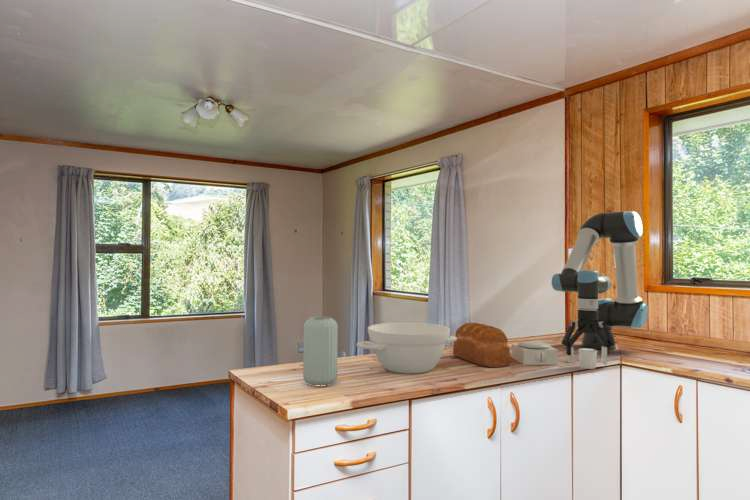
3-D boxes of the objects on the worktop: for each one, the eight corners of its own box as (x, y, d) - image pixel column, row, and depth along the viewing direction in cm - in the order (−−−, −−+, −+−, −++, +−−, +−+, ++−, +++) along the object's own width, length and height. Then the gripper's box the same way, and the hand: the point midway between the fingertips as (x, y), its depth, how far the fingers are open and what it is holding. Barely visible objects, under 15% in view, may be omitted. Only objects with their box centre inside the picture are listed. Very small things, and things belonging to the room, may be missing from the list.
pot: (379, 385, 166) (379, 338, 166) (339, 366, 194) (340, 326, 194) (479, 371, 187) (479, 329, 187) (430, 355, 215) (431, 319, 215)
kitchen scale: (511, 357, 212) (511, 341, 212) (543, 357, 213) (543, 341, 213) (524, 365, 197) (524, 347, 197) (558, 364, 198) (558, 347, 198)
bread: (476, 353, 220) (476, 319, 221) (514, 366, 196) (514, 327, 196) (449, 356, 215) (449, 320, 215) (485, 369, 191) (485, 329, 191)
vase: (296, 386, 164) (297, 319, 164) (313, 378, 175) (313, 315, 175) (328, 389, 160) (328, 321, 160) (342, 381, 170) (343, 316, 171)
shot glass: (578, 368, 192) (578, 350, 193) (578, 364, 199) (578, 347, 199) (597, 369, 190) (597, 351, 190) (597, 366, 196) (597, 348, 196)
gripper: (561, 310, 190) (561, 365, 190) (623, 310, 192) (623, 365, 191) (553, 308, 197) (552, 361, 197) (613, 308, 199) (612, 361, 199)
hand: (587, 363), depth 194 cm, fingers open, 13 cm apart
